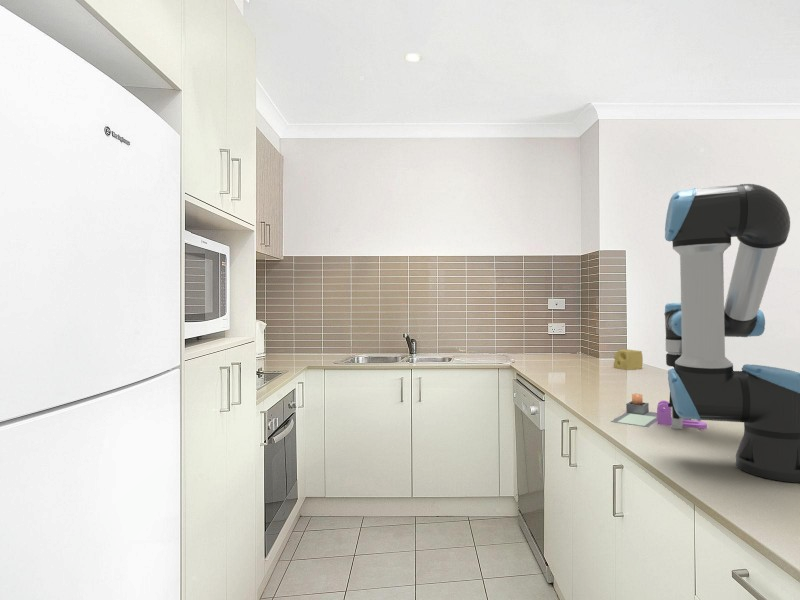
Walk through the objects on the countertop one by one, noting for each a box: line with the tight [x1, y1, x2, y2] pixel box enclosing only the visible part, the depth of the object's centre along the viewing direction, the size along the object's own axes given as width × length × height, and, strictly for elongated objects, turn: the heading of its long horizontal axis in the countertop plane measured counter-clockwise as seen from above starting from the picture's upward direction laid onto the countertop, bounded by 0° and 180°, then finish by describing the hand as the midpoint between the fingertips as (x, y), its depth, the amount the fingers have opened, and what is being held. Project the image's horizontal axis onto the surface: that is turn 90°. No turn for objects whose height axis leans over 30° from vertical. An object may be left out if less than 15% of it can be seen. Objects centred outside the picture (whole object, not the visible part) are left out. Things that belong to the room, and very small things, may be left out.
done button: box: [631, 393, 644, 405], centre depth 164 cm, size 3×3×4 cm
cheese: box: [613, 349, 644, 371], centre depth 264 cm, size 10×11×10 cm
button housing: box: [625, 400, 650, 415], centre depth 164 cm, size 6×6×3 cm
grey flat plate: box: [610, 411, 657, 428], centre depth 157 cm, size 21×11×1 cm, turn 138°
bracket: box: [656, 399, 708, 430], centre depth 148 cm, size 13×6×7 cm, turn 60°
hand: (681, 424), depth 148 cm, fingers open, 11 cm apart
